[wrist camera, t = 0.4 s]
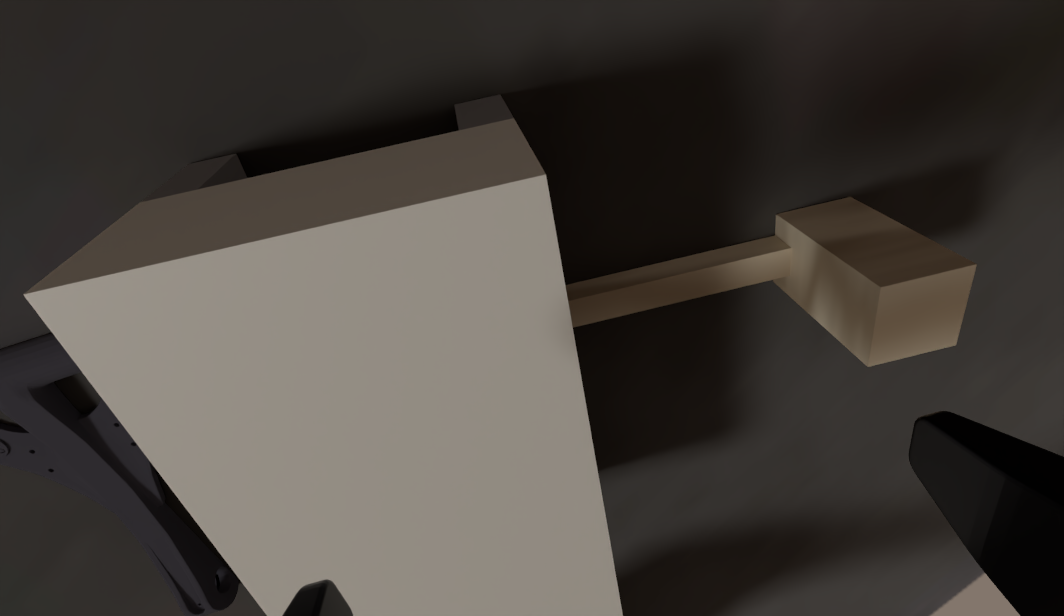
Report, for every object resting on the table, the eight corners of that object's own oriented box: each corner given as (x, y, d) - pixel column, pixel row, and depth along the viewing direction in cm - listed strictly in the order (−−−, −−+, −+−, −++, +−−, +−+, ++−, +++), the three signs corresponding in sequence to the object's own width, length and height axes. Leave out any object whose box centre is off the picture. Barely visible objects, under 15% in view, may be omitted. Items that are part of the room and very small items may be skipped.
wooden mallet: (828, 384, 27) (920, 480, 22) (392, 492, 26) (383, 618, 21) (850, 196, 22) (976, 264, 17) (314, 323, 21) (277, 433, 16)
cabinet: (577, 477, 28) (630, 657, 20) (374, 528, 27) (354, 730, 20) (500, 94, 18) (546, 174, 11) (188, 164, 18) (23, 294, 11)
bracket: (95, 616, 28) (64, 675, 26) (-181, 400, 21) (-260, 456, 18) (370, 527, 28) (365, 578, 26) (198, 277, 21) (169, 317, 18)
